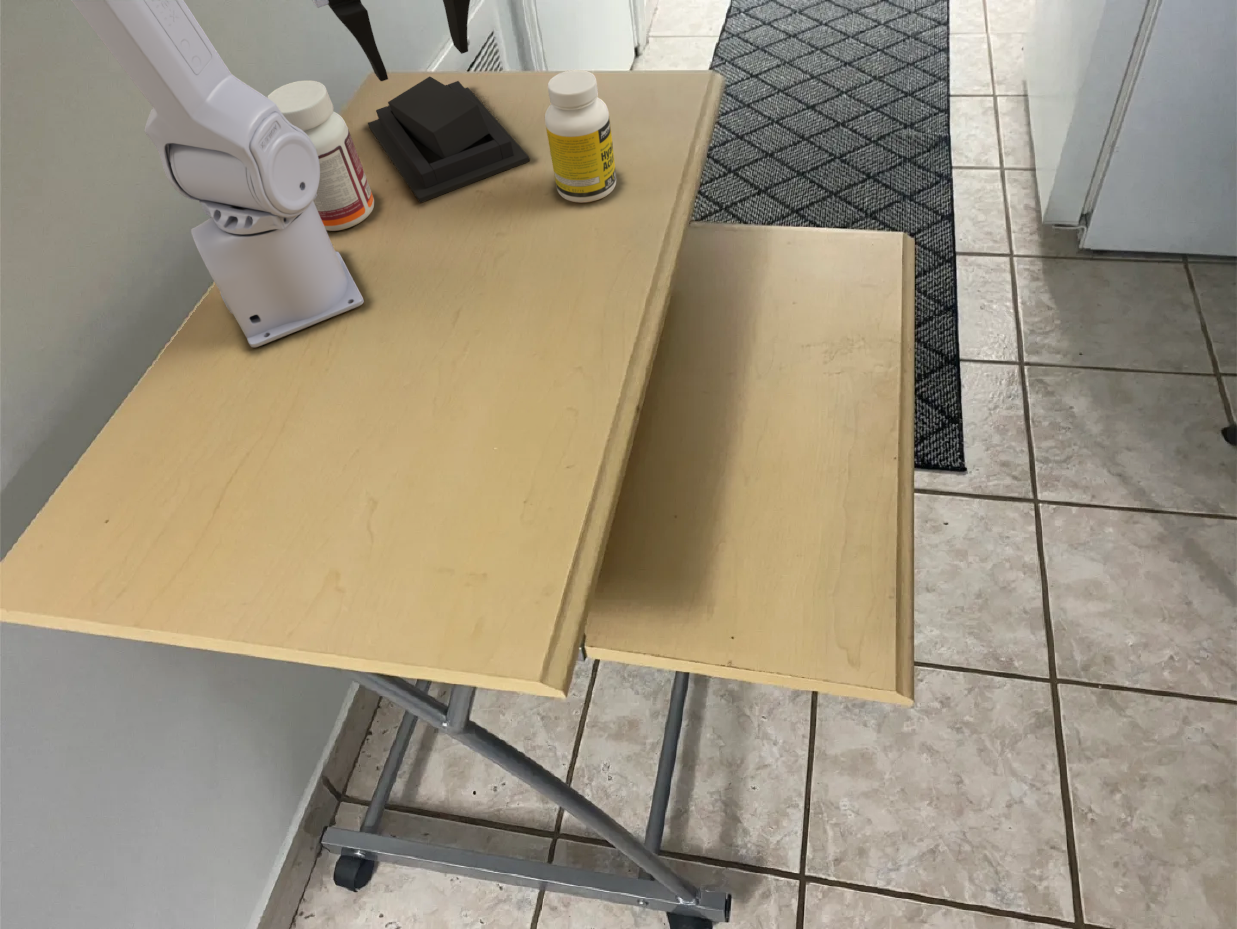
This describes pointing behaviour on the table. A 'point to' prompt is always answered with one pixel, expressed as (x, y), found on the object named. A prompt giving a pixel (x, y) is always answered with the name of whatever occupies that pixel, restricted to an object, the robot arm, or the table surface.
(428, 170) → the base pad
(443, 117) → the charcoal block
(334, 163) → the pill bottle
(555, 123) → the supplement bottle
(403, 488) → the table surface
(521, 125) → the table surface
